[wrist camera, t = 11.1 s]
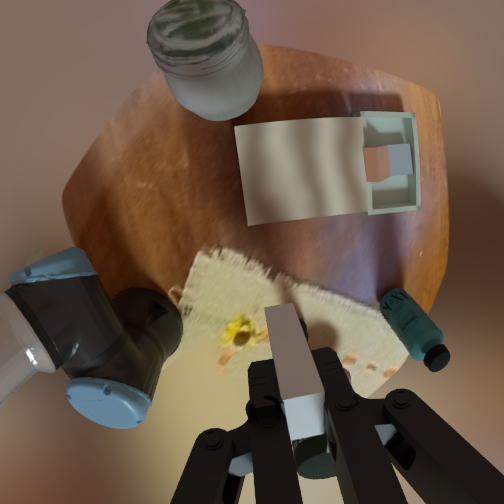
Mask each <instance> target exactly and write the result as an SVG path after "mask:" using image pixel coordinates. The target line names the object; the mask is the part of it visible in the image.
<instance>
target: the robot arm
mask: <svg viewBox="0 0 504 504" xmlns="http://www.w3.org/2000/svg"><path fill="white" fill-rule="evenodd" d="M8 280H9V282H8V283H9V285H10V286H11V288H9V289H8V290H6V291H5V292H4V293H2V294H1V297H0V405H1V404H2V403H3V402H4V401H5V400H6V399H7V398H8V397H9V396H10V395H11V394H13V393H14V392H15V391H16V390H17V389H18V388H19V387H20V386H21V385H22V384H23V383H24V382H26V381H27V380H28V379H29V378H30V377H31V376H32V375H33V374H34V373H35V372H37V371H44V372H50V373H53V372H55V371H56V370H57V369H58V368H59V367H60V366H61V368H62V369H63V370H64V372H65V373H66V374H67V375H68V377H69V378H70V381H69V382H68V383H67V385H66V387H67V388H66V393H67V394H66V396H67V399H68V401H69V402H70V403H71V405H72V406H73V407H74V408H75V409H76V410H77V411H78V412H79V413H80V414H82V415H83V416H85V417H86V418H88V419H90V420H92V421H94V422H96V423H98V424H101V425H104V426H107V427H112V428H119V429H127V428H132V427H135V426H138V425H139V424H140V423H142V422H143V420H144V419H145V417H146V414H147V412H148V409H149V408H150V407H151V404H152V399H153V396H154V392H155V389H156V385H157V382H158V379H159V375H160V372H161V369H162V365H163V363H164V362H165V361H166V359H167V358H168V357H169V356H171V355H172V354H173V353H174V352H175V351H176V350H177V348H178V346H179V344H180V342H181V338H182V335H183V323H182V319H181V316H180V314H179V312H178V311H177V309H176V308H175V306H174V305H173V304H172V303H171V302H170V301H169V300H168V299H167V298H165V297H164V296H162V295H161V294H159V293H157V292H155V291H152V290H149V289H145V288H130V289H126V290H124V291H122V292H120V293H119V294H117V295H116V296H115V297H114V299H113V300H112V301H111V300H110V298H109V296H108V294H107V292H106V290H105V289H104V287H103V285H102V283H101V281H100V279H99V277H98V272H97V271H96V270H94V268H93V266H92V264H91V262H90V261H89V259H88V257H87V255H86V253H85V252H84V251H83V250H82V249H80V248H77V247H72V248H69V249H66V250H63V251H61V252H58V253H56V254H54V255H52V256H49V257H46V258H44V259H42V260H39V261H37V262H35V263H32V264H30V265H28V266H26V267H24V268H21V269H19V270H17V271H15V272H13V273H11V274H9V276H8ZM264 309H265V315H266V321H267V326H268V332H269V338H270V344H271V350H272V355H273V359H268V360H262V361H256V362H252V363H251V365H250V367H249V369H248V383H249V395H250V396H249V397H250V400H249V401H248V403H247V405H246V413H247V416H248V420H247V421H246V423H244V424H243V425H242V426H240V427H238V428H236V429H233V430H230V431H228V432H227V431H225V430H223V429H220V428H211V429H208V430H206V431H203V432H202V433H201V434H199V436H198V437H197V439H196V441H195V443H194V446H193V448H192V451H191V453H190V456H189V458H188V461H187V463H186V466H185V468H184V471H183V473H182V476H181V478H180V481H179V483H178V486H177V488H176V491H175V493H174V496H173V498H172V500H171V503H170V504H238V502H239V498H240V494H241V490H242V486H243V482H244V478H245V475H246V474H249V473H251V472H253V474H254V486H255V499H256V504H303V501H302V496H301V491H300V486H299V480H298V475H297V470H296V465H295V460H294V455H293V449H292V444H291V440H296V439H301V438H306V437H311V436H316V435H320V434H324V433H325V431H326V434H327V453H329V452H330V455H331V459H332V462H333V466H334V469H335V473H336V476H337V480H338V483H339V486H340V490H341V494H342V497H343V501H344V504H408V502H407V500H406V498H405V495H404V493H403V490H402V488H401V485H400V483H399V481H398V478H397V476H396V473H395V471H394V469H393V466H392V464H393V465H394V466H395V468H396V469H397V470H398V471H399V472H400V474H401V475H402V476H403V477H404V478H405V480H406V481H407V482H408V483H409V484H410V485H411V487H412V488H413V489H414V490H415V491H416V492H417V494H418V495H419V496H420V497H421V498H422V499H423V501H424V502H425V503H426V504H504V475H503V474H502V473H501V472H500V471H498V470H497V469H496V468H495V467H494V466H493V465H492V464H491V463H490V462H489V461H488V460H487V459H486V458H484V457H483V456H482V455H481V454H480V453H479V452H478V451H477V450H476V449H475V448H473V446H471V445H470V444H469V443H468V442H467V441H466V440H465V439H464V438H463V437H462V436H461V435H460V434H459V433H457V432H456V431H455V430H454V429H453V428H452V427H451V426H450V425H448V423H447V422H445V421H444V420H443V419H442V418H441V417H440V416H439V415H438V414H437V413H436V412H435V411H434V410H432V409H431V408H430V407H429V406H428V405H427V404H426V403H425V402H424V401H423V400H421V399H420V398H419V397H418V396H417V395H416V394H415V393H414V392H412V391H410V390H407V389H396V390H393V391H391V392H390V393H388V394H387V395H386V398H385V399H367V398H363V397H361V396H360V395H358V394H357V393H355V391H354V390H353V388H352V386H351V384H350V381H349V379H348V377H347V375H346V373H345V371H344V368H343V366H342V364H341V362H340V360H339V358H338V356H337V353H336V352H335V351H333V350H332V349H331V348H330V347H325V348H321V349H316V350H311V351H310V349H309V346H308V343H307V340H306V338H305V335H304V332H303V329H302V327H301V324H300V321H299V318H298V316H297V313H296V310H295V308H294V305H293V302H292V303H287V304H281V305H276V306H270V307H265V308H264ZM391 463H392V464H391Z"/></svg>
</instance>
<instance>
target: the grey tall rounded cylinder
mask: <svg viewBox="0 0 504 504" xmlns="http://www.w3.org/2000/svg"><path fill="white" fill-rule="evenodd" d="M245 11H246V10H244V9H242V8H241V6H239V4H238V3H237V2H235V1H234V0H171V1H169V2H168V3H167V4H165V5H164V6H163V7H161V8H160V9H159V10H158V11H157V12H156V13H155V14H154V16H153V17H152V19H151V21H150V23H149V27H148V30H147V44H148V46H149V48H150V50H151V52H152V54H153V57H154V59H155V62H156V64H157V65H158V66H159V68H160V69H161V70H162V71H163V72H164V73H165V77H166V81H167V83H168V86H169V88H170V90H171V93H172V94H173V96H174V97H175V99H176V100H177V101H178V102H179V103H180V104H181V105H182V106H183V107H185V108H186V109H188V110H190V111H192V112H194V113H196V114H197V115H199V116H201V117H203V118H205V119H208V120H213V121H223V120H229V119H232V118H235V117H238V116H240V115H242V114H243V113H245V112H246V111H248V110H249V109H250V108H251V107H252V106H253V104H254V103H255V101H256V99H257V97H258V93H259V90H260V87H261V84H262V80H263V64H262V59H261V55H260V52H259V49H258V47H257V45H256V42H255V40H254V39H253V37H252V36H251V34H250V33H249V25H248V20H247V18H246V17H245Z"/></svg>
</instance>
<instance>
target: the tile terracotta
mask: <svg viewBox="0 0 504 504" xmlns="http://www.w3.org/2000/svg"><path fill="white" fill-rule="evenodd" d="M364 156H365V166H366V177H367V182H381V181H383V180H385V179H387V178H389V177H390V165H389V154H388V145H376V146H370V147H365V148H364Z"/></svg>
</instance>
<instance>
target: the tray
mask: <svg viewBox="0 0 504 504" xmlns="http://www.w3.org/2000/svg"><path fill="white" fill-rule="evenodd" d="M352 117H361V118H362V126H363V135H364V145H365V147H370V146H376V145H388V144H401V143H409V144H410V150H411V159H412V169H413V174H407V175H399V176H390V177H389V178H387V179H385V180H383V181H381V182H367V184H368V205H369V211H367V212H363V213H365V214H367V215H375V214H384V213H394V212H403V211H413V210H420V164H419V148H418V135H417V125H416V116H415V113H406V112H380V111H359V112H356V113H352Z"/></svg>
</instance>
